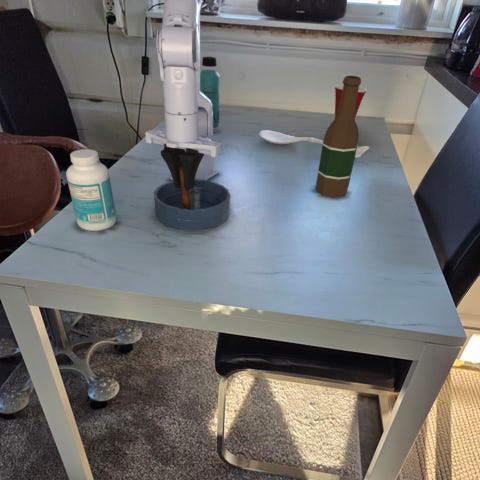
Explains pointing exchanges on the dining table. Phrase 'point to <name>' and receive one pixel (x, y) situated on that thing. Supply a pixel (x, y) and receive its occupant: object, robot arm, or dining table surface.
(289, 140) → the spoon
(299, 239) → the dining table surface
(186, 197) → the stirring stick
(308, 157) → the dining table surface
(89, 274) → the dining table surface
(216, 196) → the bowl
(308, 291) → the dining table surface
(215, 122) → the beverage bottle
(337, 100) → the plastic cup
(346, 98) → the beer bottle
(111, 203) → the pill bottle
